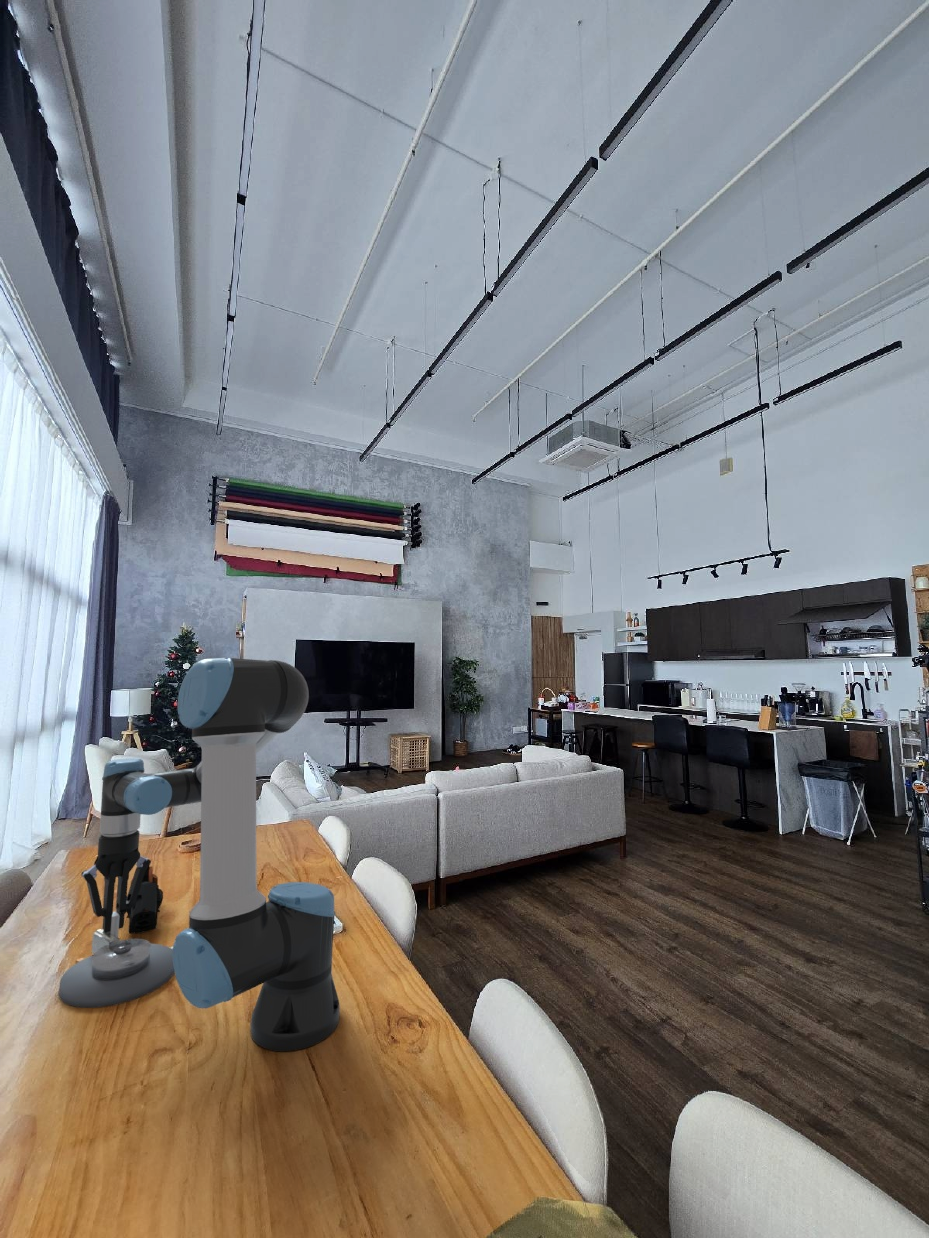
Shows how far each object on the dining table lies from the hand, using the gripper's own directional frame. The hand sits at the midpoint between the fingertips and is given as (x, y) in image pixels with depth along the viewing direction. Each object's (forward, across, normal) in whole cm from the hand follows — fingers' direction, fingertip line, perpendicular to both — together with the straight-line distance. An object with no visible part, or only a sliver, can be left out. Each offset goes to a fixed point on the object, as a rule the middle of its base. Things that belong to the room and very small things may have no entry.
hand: (111, 945), depth 117 cm
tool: (+4, -11, -17) cm, 20 cm away
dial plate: (+3, 0, +7) cm, 8 cm away
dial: (+1, +1, +6) cm, 6 cm away
